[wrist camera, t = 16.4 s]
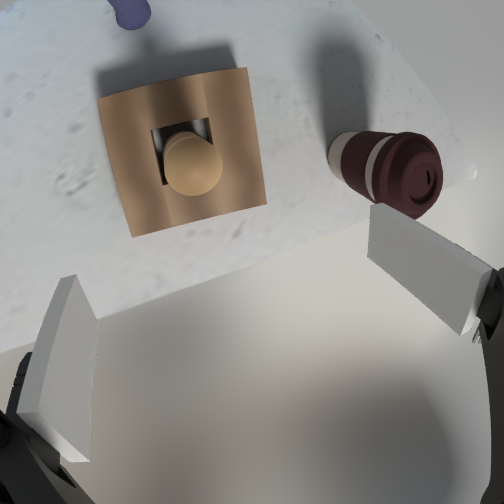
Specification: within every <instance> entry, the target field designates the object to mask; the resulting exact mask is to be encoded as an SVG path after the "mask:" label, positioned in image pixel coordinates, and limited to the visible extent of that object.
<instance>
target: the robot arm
mask: <svg viewBox="0 0 504 504" xmlns="http://www.w3.org/2000/svg"><path fill="white" fill-rule="evenodd" d="M367 257H368V258H370V259H371V260H372V261H373V262H375V263H376V264H377V265H378V266H380V267H381V268H382V269H383V270H384V271H386V272H387V273H388V274H389V275H391V276H392V277H393V278H394V279H395V280H396V281H398V282H399V283H400V284H401V285H402V286H404V287H405V288H406V289H407V290H408V291H410V292H411V293H412V294H413V295H414V296H415V297H417V298H418V299H419V300H420V301H421V302H422V303H423V304H425V305H426V306H427V307H428V308H429V309H430V310H432V311H433V312H434V313H435V314H436V315H437V316H438V317H439V318H441V319H442V320H443V321H444V322H445V323H446V324H447V325H448V326H449V327H450V328H452V329H453V330H454V331H455V332H456V333H457V334H458V335H459V336H461V335H462V334H464V333H466V332H467V331H469V330H470V329H471V328H472V325H473V323H474V321H475V318H476V316H477V317H478V318H480V319H481V321H480V323H479V326H478V328H477V330H476V333H475V335H474V337H473V343H475V341H476V339H477V337H478V336H480V339H479V341H478V343H482V348H483V354H484V360H485V367H486V375H487V382H488V390H489V391H488V392H489V402H490V417H491V477H490V482H489V485H488V487H487V489H486V491H485V492H484V494H483V496H482V499H481V502H480V504H504V268H501V269H499V271H497V270H495V269H494V268H492V267H491V266H489V265H488V264H486V263H485V262H483V261H482V260H480V259H479V258H477V257H476V256H474V255H472V254H471V253H470V252H468V251H466V250H465V249H463V248H462V247H460V246H458V245H457V244H455V243H453V242H451V241H450V240H448V239H446V238H445V237H443V236H441V235H440V234H438V233H436V232H435V231H433V230H431V229H430V228H428V227H426V226H424V225H423V224H421V223H419V222H417V221H416V220H414V219H412V218H410V217H408V216H407V215H405V214H403V213H401V212H399V211H397V210H396V209H394V208H392V207H390V206H388V205H386V204H384V203H379V204H374V205H371V207H370V227H369V242H368V255H367ZM99 330H100V325H99V323H98V321H97V319H96V317H95V315H94V313H93V311H92V309H91V307H90V305H89V302H88V300H87V298H86V296H85V294H84V291H83V289H82V287H81V285H80V282H79V280H78V278H77V275H72V276H68V277H64V278H61V279H60V281H59V283H58V286H57V288H56V290H55V293H54V295H53V298H52V300H51V302H50V305H49V307H48V310H47V313H46V315H45V318H44V321H43V323H42V326H41V329H40V332H39V334H38V337H37V340H36V343H35V346H34V350H33V352H28V353H27V354H26V355H25V357H24V358H23V359H22V361H21V362H20V364H19V367H18V371H17V374H16V376H17V377H16V378H15V380H14V384H13V385H14V387H12V391H11V394H10V398H9V402H8V406H7V410H6V414H4V413H3V412H2V411H1V410H0V504H95V503H94V502H93V501H92V500H91V498H90V497H89V496H88V495H87V494H86V493H85V492H84V491H83V489H81V487H80V486H79V485H78V484H77V482H76V481H75V480H74V479H73V478H72V476H71V475H70V474H69V473H68V471H67V470H66V469H65V468H64V467H63V466H62V465H61V464H60V454H61V455H62V456H63V457H65V458H66V459H67V460H68V461H69V462H88V461H90V435H91V434H90V433H91V409H92V408H91V407H92V394H93V382H94V372H95V361H96V354H97V353H96V352H97V346H98V345H97V344H98V338H99Z"/></svg>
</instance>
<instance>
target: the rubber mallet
mask: <svg viewBox="0 0 504 504" xmlns="http://www.w3.org/2000/svg"><path fill="white" fill-rule="evenodd" d="M107 1H108V2H109V3H110V4H111V5H112V6H113V7H114V9H115V11H116V21H117V24H118V25H119V26H120V27H122V28H124V29H126V30H135V29H138V28H141V27H142V26H144V25H145V24H146V22H147V21H148V20H149V19H150V16H151V10H150V6H149V4H148V3H147V2H146V0H107Z"/></svg>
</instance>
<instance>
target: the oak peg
mask: <svg viewBox="0 0 504 504" xmlns="http://www.w3.org/2000/svg"><path fill="white" fill-rule="evenodd" d="M163 160H164V172H165V177H166V179H167V182H168V183H169V185H170V186H171V187H172V188H173V189H174V190H175V191H177V192H179V193H181V194H183V195H187V196H197V195H201V194H204V193H206V192H208V191H209V190H211V189H212V188H213V187H214V186H215V185H216V184H217V182H218V181H219V179H220V177H221V174H222V169H223V163H222V158H221V155H220V153H219V152H218V150H217V149H216V148H215V147H214V146H213V145H212V144H211V143H209V142H208V141H206V140H204V139H203V138H202V137H201V136H200V135H199V134H197V133H195V132H193V131H188V130H179V131H176V132H174V133H172V134H171V135H170V136H169V137H168V138H167V140H166V142H165V144H164V147H163Z"/></svg>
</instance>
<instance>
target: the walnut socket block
mask: <svg viewBox="0 0 504 504" xmlns="http://www.w3.org/2000/svg"><path fill="white" fill-rule="evenodd" d="M97 103H98V108H99V113H100V118H101V123H102V128H103V132H104V137H105V141H106V146H107V150H108V154H109V158H110V162H111V166H112V170H113V174H114V178H115V181H116V185H117V189H118V192H119V196H120V200H121V203H122V206H123V210H124V213H125V216H126V220H127V223H128V226H129V229H130V233H131V236H132V238H134V237H137V236H141V235H144V234H148V233H152V232H156V231H159V230H163V229H167V228H171V227H175V226H178V225H182V224H186V223H190V222H194V221H198V220H202V219H206V218H210V217H214V216H218V215H222V214H226V213H231V212H235V211H239V210H243V209H247V208H252V207H256V206H260V205H265V204H267V201H266V194H265V186H264V179H263V172H262V165H261V158H260V151H259V144H258V137H257V130H256V123H255V117H254V110H253V103H252V97H251V90H250V84H249V77H248V71H247V67H243V68H235V69H227V70H220V71H214V72H207V73H201V74H196V75H190V76H185V77H180V78H175V79H170V80H166V81H161V82H157V83H153V84H149V85H145V86H141V87H137V88H134V89H130V90H126V91H123V92H119V93H116V94H113V95H109V96H106V97H103V98H100V99H97ZM201 118H204V120H205V126H206V131H207V137H208V142H209V143H211V144H212V145H213V146H214V147H215V148H216V149H217V150H218V152H219V153H220V155H221V158H222V163H223V169H222V174H221V177H220V179H219V181H218V182H217V184H216V185H215V186H214V187H213V188H212V189H211V190H209V191H208V192H206V193H204V194H201V195H197V196H187V195H183V194H181V193H179V192H177V191H175V190H174V189H173V188H172V187H171V186H170V185H169V183H168V182H167V179H166V178H163V177H162V172H161V168H160V164H159V159H158V155H157V150H156V146H155V141H154V136H153V131H152V130H153V129H157V128H161V127H165V126H169V125H174V124H178V123H183V122H187V121H192V120H196V119H201Z"/></svg>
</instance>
